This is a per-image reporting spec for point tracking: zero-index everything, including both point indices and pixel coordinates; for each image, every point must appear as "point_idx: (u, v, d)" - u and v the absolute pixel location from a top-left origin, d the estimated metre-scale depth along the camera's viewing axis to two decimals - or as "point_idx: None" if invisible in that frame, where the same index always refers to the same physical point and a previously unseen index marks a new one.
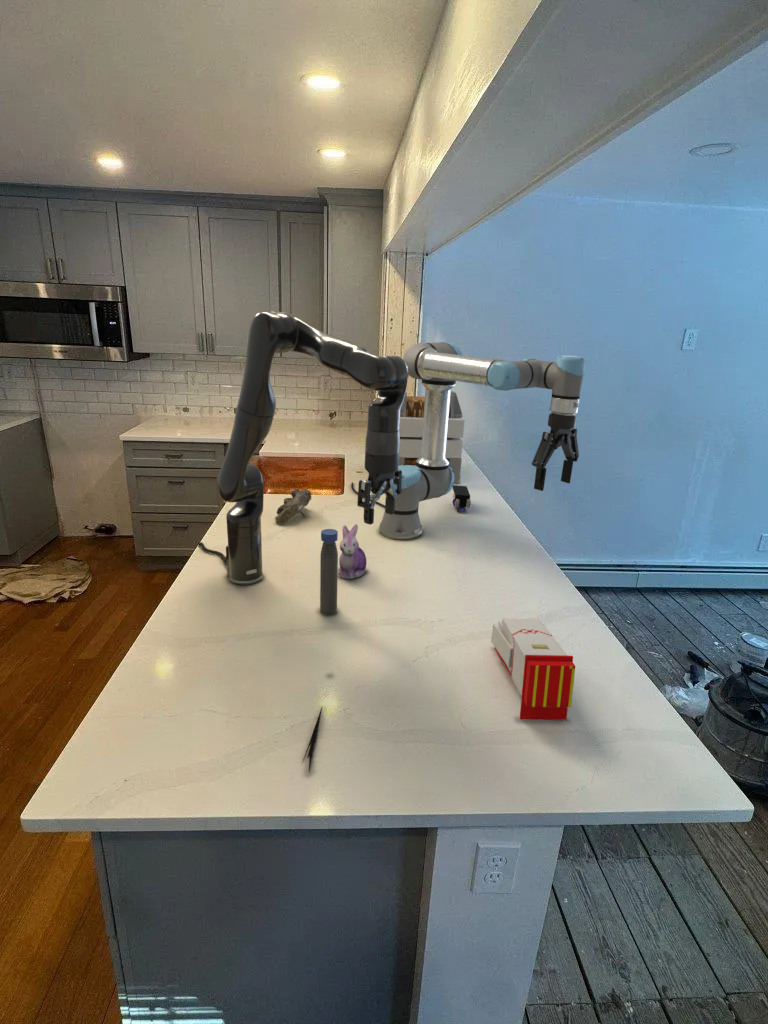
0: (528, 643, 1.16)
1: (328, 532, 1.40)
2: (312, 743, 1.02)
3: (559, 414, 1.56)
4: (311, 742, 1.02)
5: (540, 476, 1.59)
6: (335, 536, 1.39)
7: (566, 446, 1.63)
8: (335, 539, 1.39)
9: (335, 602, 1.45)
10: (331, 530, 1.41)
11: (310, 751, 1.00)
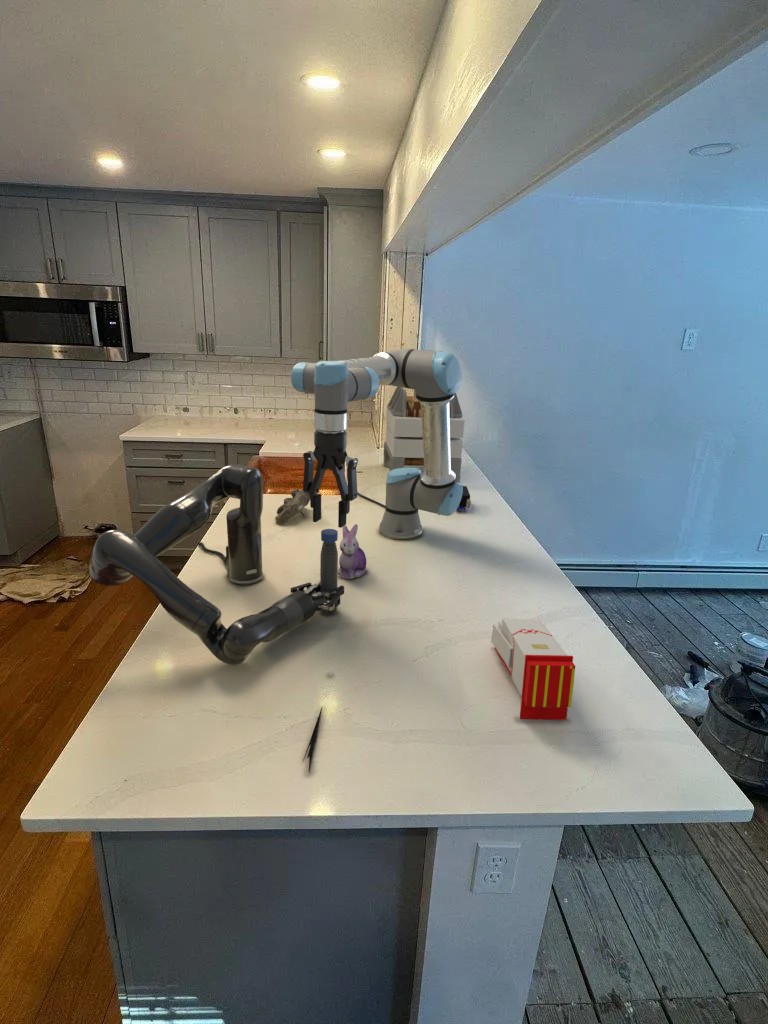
0: (528, 643, 1.16)
1: (328, 532, 1.40)
2: (312, 743, 1.02)
3: (343, 431, 1.31)
4: (311, 742, 1.02)
5: None
6: (335, 536, 1.39)
7: (324, 471, 1.36)
8: (335, 539, 1.39)
9: None
10: (331, 530, 1.41)
11: (310, 751, 1.00)
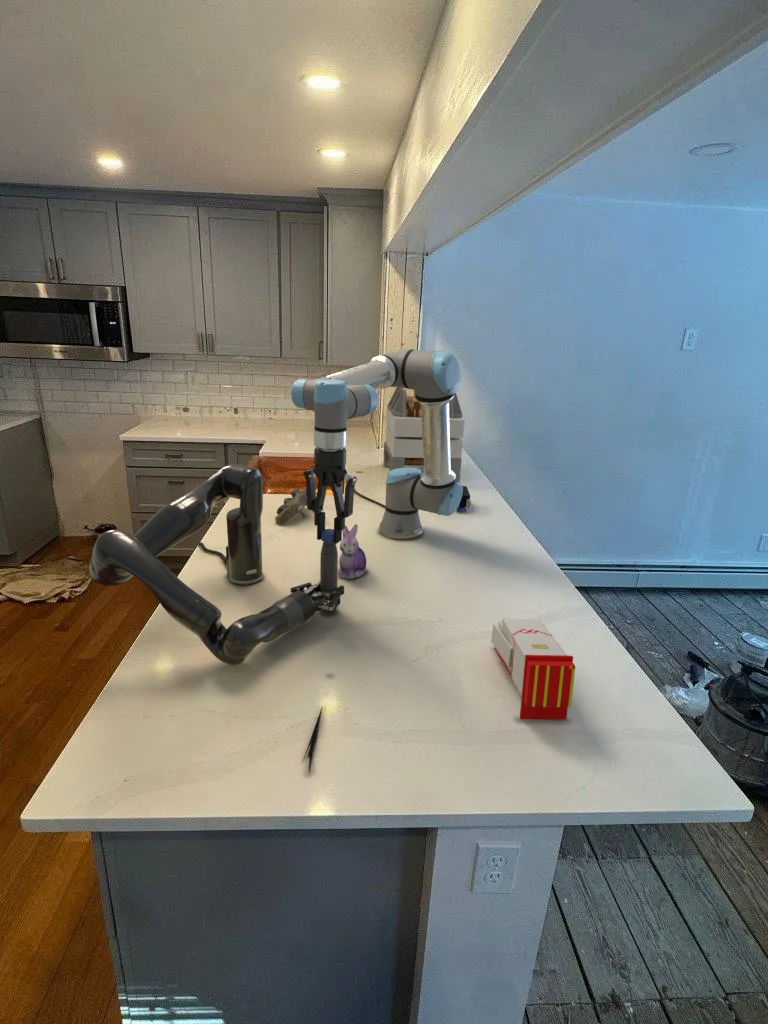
0: (528, 643, 1.16)
1: (328, 532, 1.40)
2: (312, 743, 1.02)
3: (343, 448, 1.32)
4: (311, 742, 1.02)
5: None
6: None
7: (325, 488, 1.37)
8: None
9: None
10: (331, 530, 1.41)
11: (310, 751, 1.00)
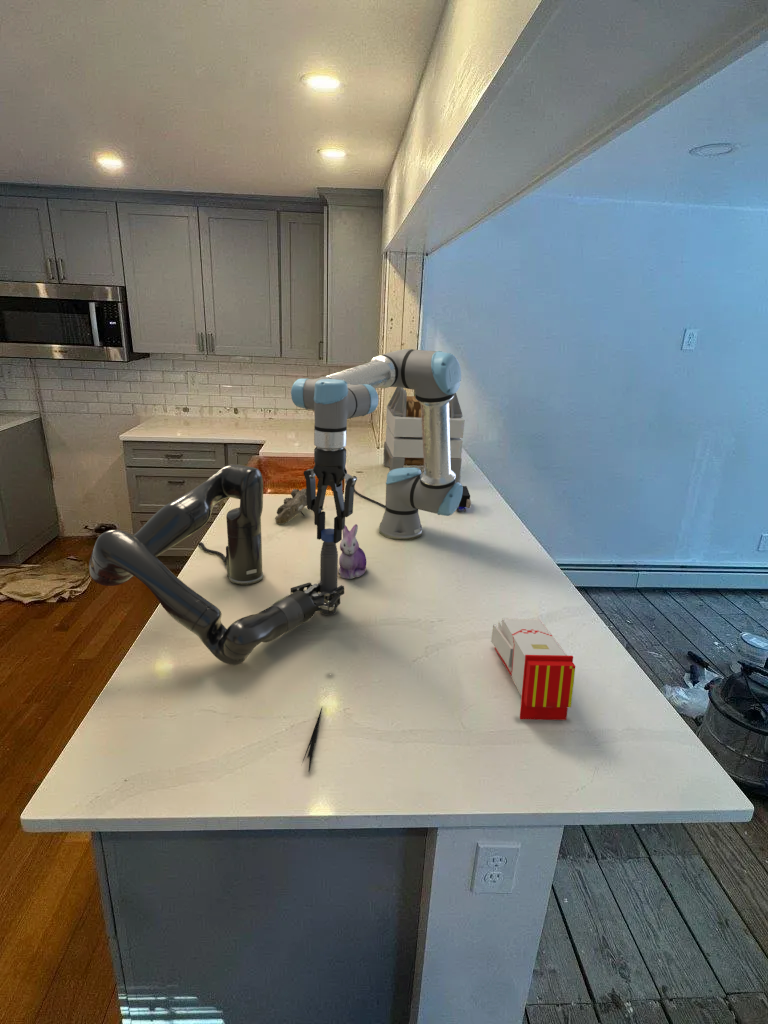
0: (528, 643, 1.16)
1: (331, 531, 1.40)
2: (312, 743, 1.02)
3: (343, 448, 1.32)
4: (311, 742, 1.02)
5: None
6: None
7: (325, 487, 1.37)
8: None
9: None
10: (325, 531, 1.40)
11: (310, 751, 1.00)
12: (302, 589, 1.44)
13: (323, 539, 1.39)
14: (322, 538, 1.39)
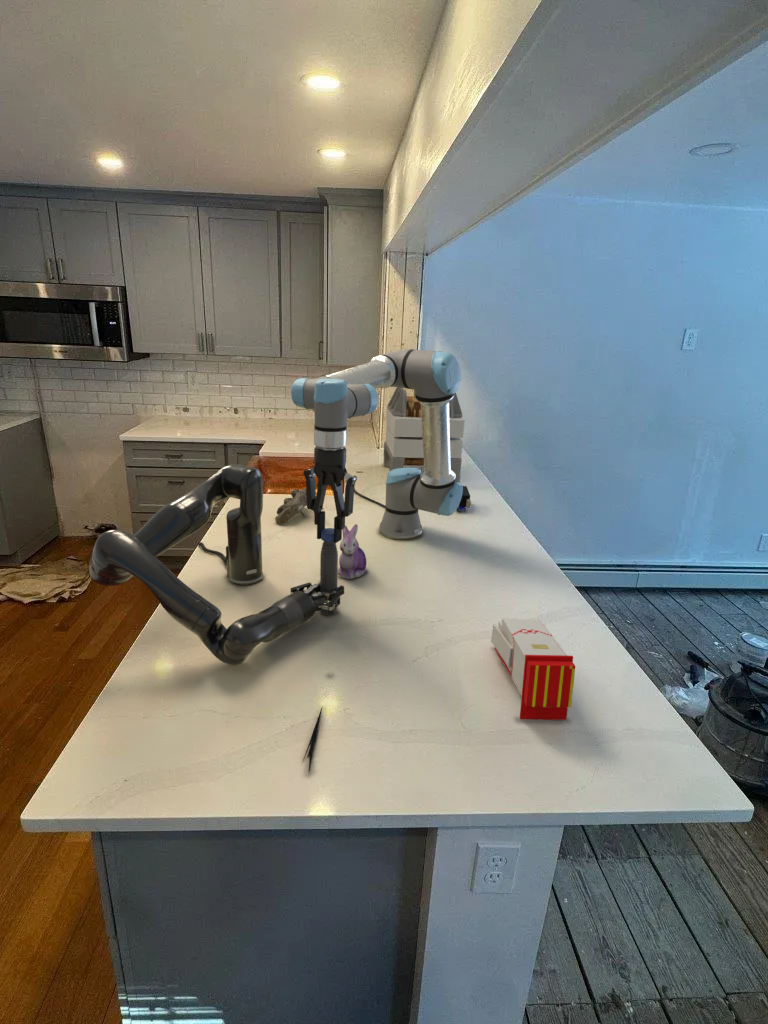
0: (528, 643, 1.16)
1: (328, 530, 1.40)
2: (312, 743, 1.02)
3: (343, 447, 1.32)
4: (311, 742, 1.02)
5: None
6: (321, 533, 1.40)
7: (325, 487, 1.37)
8: (321, 536, 1.40)
9: None
10: (330, 532, 1.39)
11: (310, 751, 1.00)
12: (302, 589, 1.44)
13: None
14: None
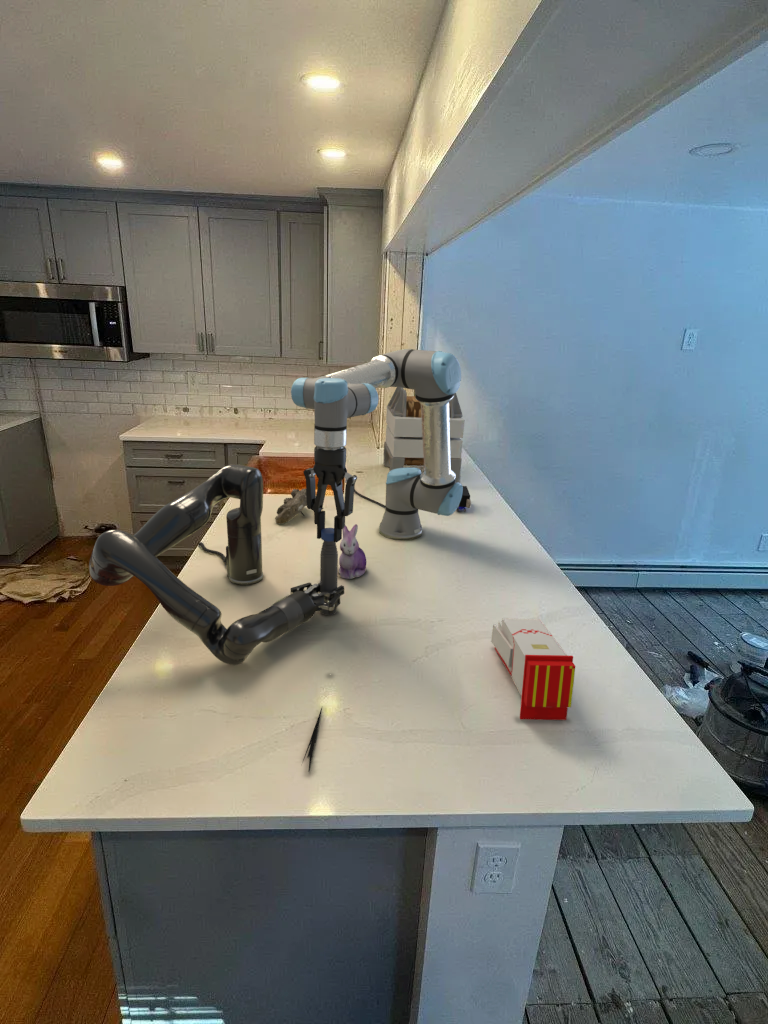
0: (528, 643, 1.16)
1: (327, 531, 1.40)
2: (312, 743, 1.02)
3: (343, 447, 1.32)
4: (311, 742, 1.02)
5: None
6: (331, 536, 1.38)
7: (325, 487, 1.37)
8: (331, 539, 1.39)
9: None
10: (333, 529, 1.40)
11: (310, 751, 1.00)
12: (302, 589, 1.44)
13: None
14: None
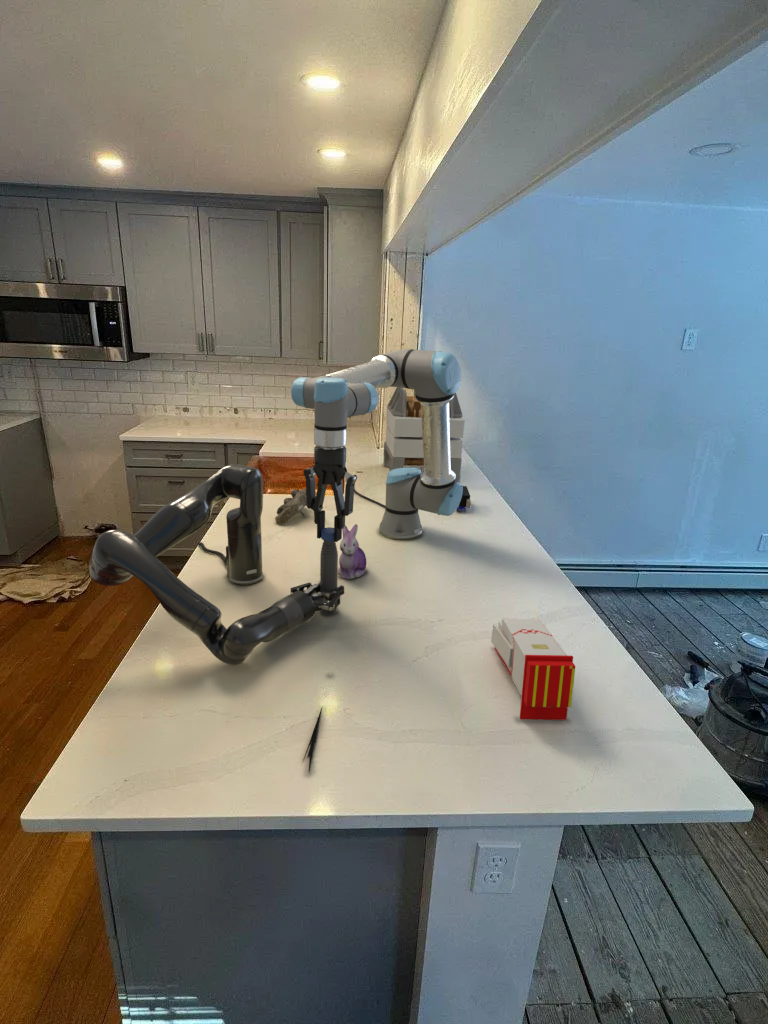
0: (528, 643, 1.16)
1: (331, 530, 1.40)
2: (312, 743, 1.02)
3: (343, 446, 1.32)
4: (311, 742, 1.02)
5: None
6: None
7: (325, 486, 1.37)
8: None
9: None
10: (326, 529, 1.40)
11: (310, 751, 1.00)
12: (302, 589, 1.44)
13: (321, 536, 1.40)
14: (321, 535, 1.40)
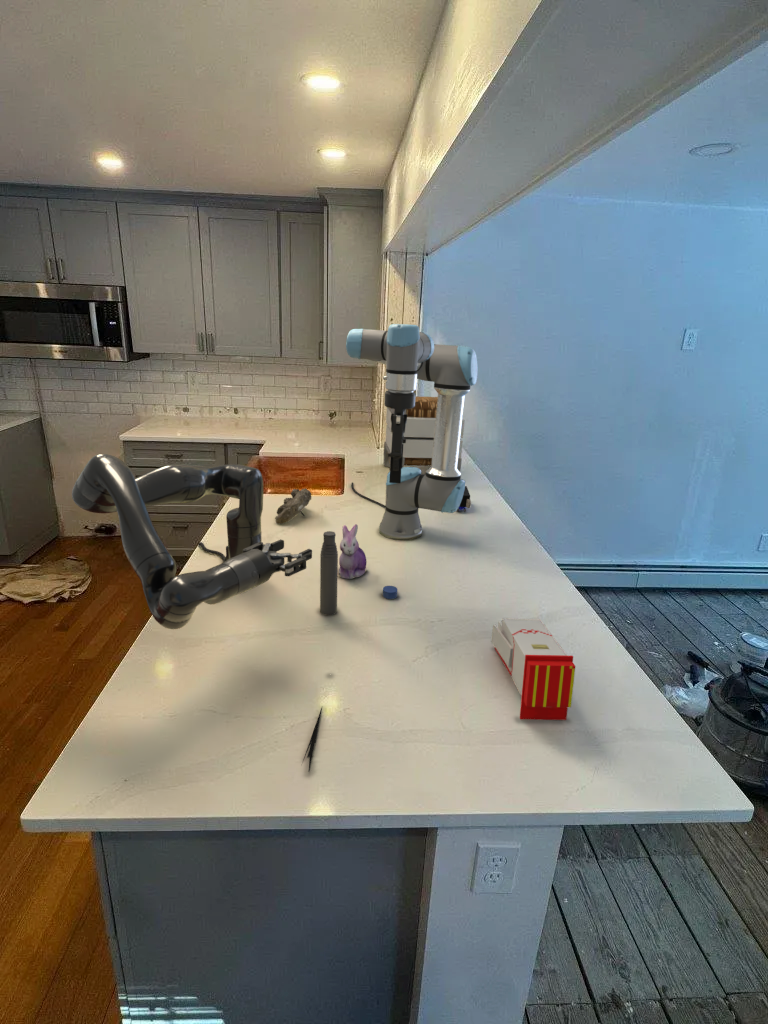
0: (528, 643, 1.16)
1: (390, 588, 1.57)
2: (312, 743, 1.02)
3: None
4: (311, 742, 1.02)
5: None
6: None
7: None
8: None
9: (335, 602, 1.45)
10: (389, 590, 1.55)
11: (310, 751, 1.00)
12: None
13: (394, 597, 1.55)
14: (393, 597, 1.55)
